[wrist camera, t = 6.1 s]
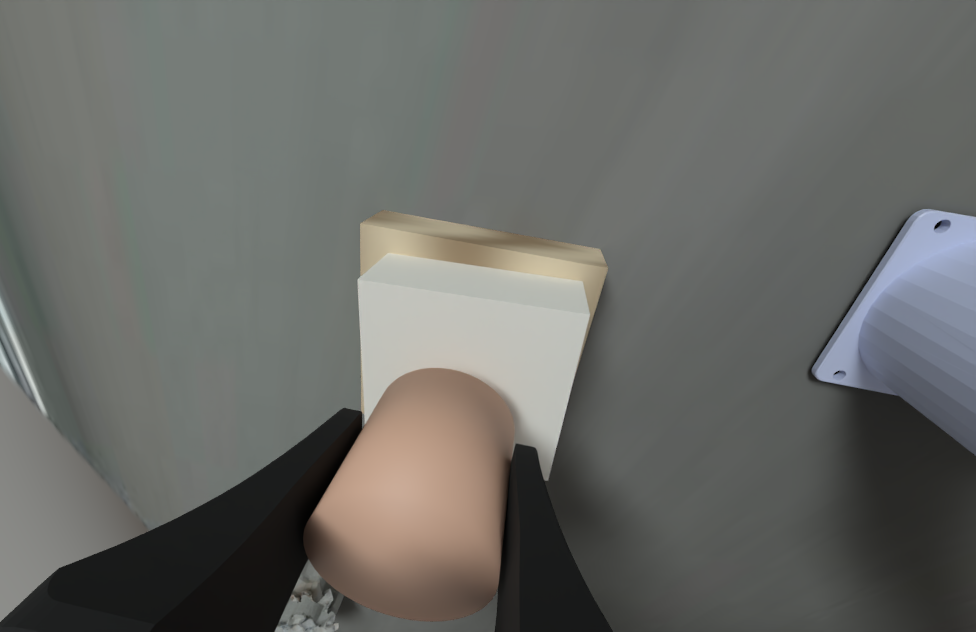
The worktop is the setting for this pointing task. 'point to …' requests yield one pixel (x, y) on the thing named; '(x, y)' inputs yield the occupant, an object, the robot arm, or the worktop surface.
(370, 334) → the tower top
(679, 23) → the worktop surface
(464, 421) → the cylinder
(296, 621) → the grey carved stone fragment
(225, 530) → the robot arm
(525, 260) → the tower base
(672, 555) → the worktop surface
